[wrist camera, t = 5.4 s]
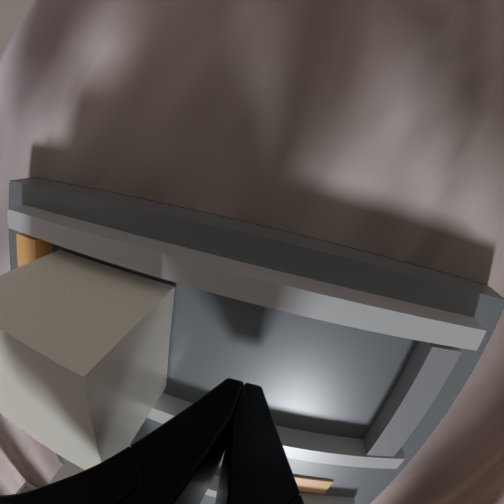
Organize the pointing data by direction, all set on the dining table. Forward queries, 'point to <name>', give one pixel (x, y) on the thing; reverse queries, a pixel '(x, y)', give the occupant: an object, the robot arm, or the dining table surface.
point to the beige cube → (82, 353)
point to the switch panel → (282, 327)
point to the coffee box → (26, 487)
